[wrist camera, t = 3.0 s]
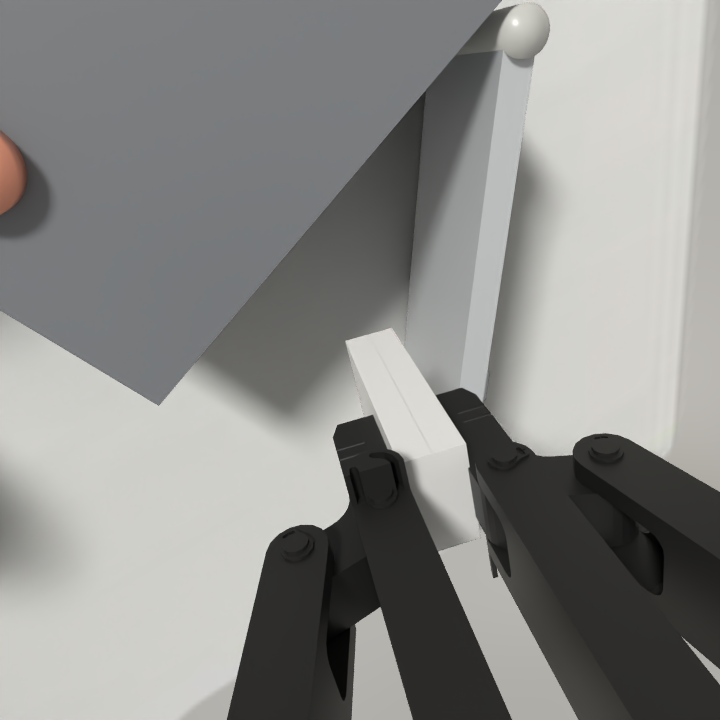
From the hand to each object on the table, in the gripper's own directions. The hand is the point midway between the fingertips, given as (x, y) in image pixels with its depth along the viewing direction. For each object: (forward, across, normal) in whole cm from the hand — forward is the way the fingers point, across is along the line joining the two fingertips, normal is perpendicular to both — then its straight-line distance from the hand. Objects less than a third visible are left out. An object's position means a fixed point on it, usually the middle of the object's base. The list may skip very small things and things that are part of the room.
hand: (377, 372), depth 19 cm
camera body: (+9, -3, +9) cm, 13 cm away
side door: (+9, +5, +2) cm, 11 cm away
